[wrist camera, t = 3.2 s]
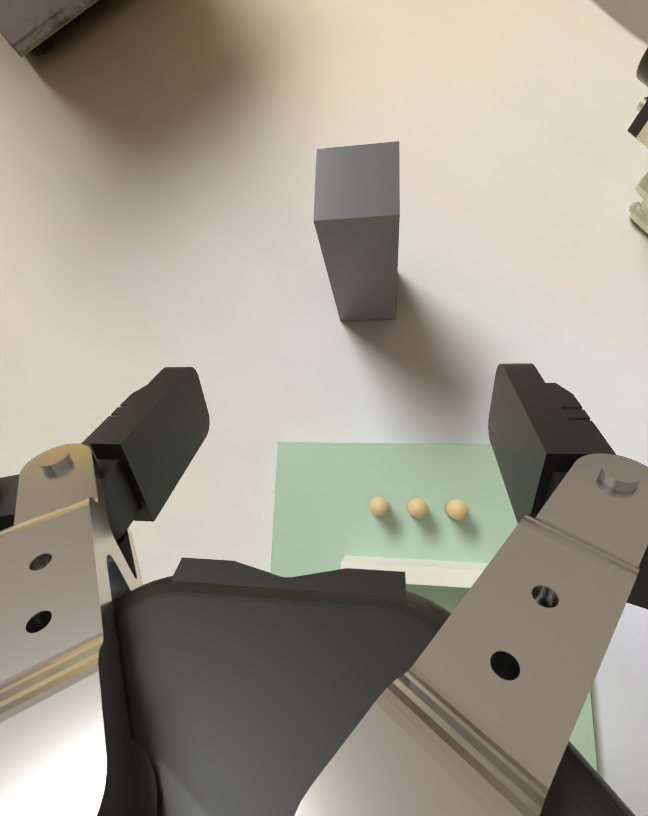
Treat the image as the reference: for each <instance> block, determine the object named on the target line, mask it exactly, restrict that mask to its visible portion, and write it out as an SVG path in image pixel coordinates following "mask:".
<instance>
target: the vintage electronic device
mask: <svg viewBox="0 0 648 816" xmlns="http://www.w3.org/2000/svg"><path fill="white" fill-rule="evenodd" d="M97 1H99V0H0V33H1V34H2V35H3V36H4V38H5V39H6V40H7V41H8V42H9V44H10V45H11V46H12V47H13V48H14V49H15V51H16V52H17V53H18V54H19V55H20V56H21V57H23V56H24V55H25V54H27V53H28V52H31V53H32V54H33V55H37V56H39V55H43V54H46V53H47V52H48V51H49V50H50V49H51V48H52V47H53V42H54V40H53V39H52V37H51V35H53V34H54V33H55V32H57V31H58V30H59V29H61V28H62V27H63V26H65V25H66V24H68V23H69V22H70V21H72V20H73V19H74V18H76V17H77V16H78V15H80V14H81V13H82V12H84V11H85V10H87V9H88V8H89V7H91V6H92V5H93V4H95V3H96V2H97Z"/></svg>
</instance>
